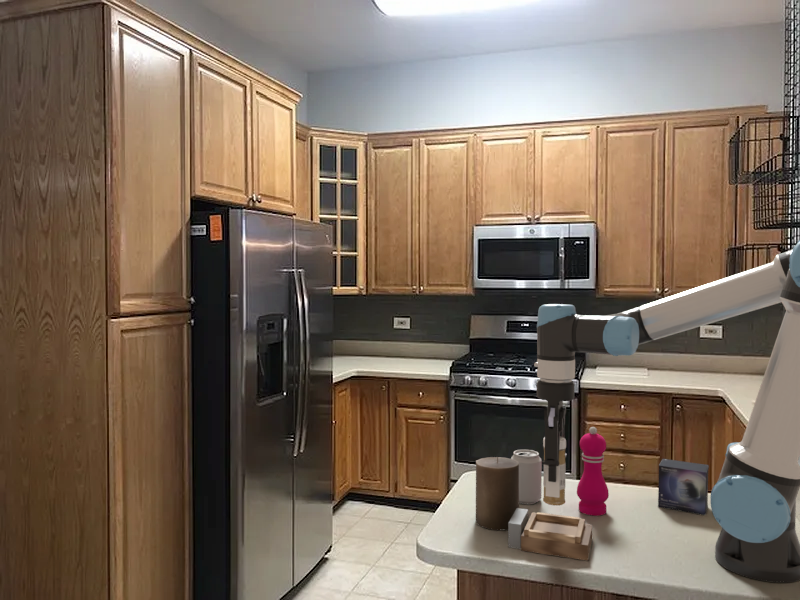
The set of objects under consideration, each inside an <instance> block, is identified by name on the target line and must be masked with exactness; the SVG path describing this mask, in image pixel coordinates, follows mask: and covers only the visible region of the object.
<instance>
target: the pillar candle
mask: <svg viewBox="0 0 800 600" xmlns="http://www.w3.org/2000/svg"><path fill="white" fill-rule="evenodd" d="M517 508H520V503H519V463H518V462H517V461H515V460H513V459H511V458H508V457H500V456H499V457H498V456H496V457H495V456H494V457H493V456H490V457H482V458H479V459H477V460H475V523H476V524H477V525H478V526H480V527H482V528H485V529H487V530H491V531H492V530H493V531H506V530H508V523H509V521H510V519H511V517H512V516H513V514H514V512H515V510H516V509H517Z"/></svg>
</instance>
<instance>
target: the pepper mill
mask: <svg viewBox="0 0 800 600" xmlns="http://www.w3.org/2000/svg"><path fill="white" fill-rule="evenodd" d="M579 448H580V450H581V451H582V453H581V460H582V461H583V473H582V475H581V478H580V480H579V481H578V484H577V487H576V495H577V497H578V498H579V502H578V512H580V513H582V514H584V515H587V516H592V517H593V516H595V517H596V516H597V517H599V516H603V515H605V514H606V513H607V504H606V501H607V500H608V498H609V495H610V494H609V488H608V484H607V483H606V480H605V478H604V476H603V472H602V469H603V468H602V465H603V462H604V461H605V459H604V458H605V454H604V452H605V451H606V449H607V442H606V439H605V438H604V437H603V436H602V435H601V434H599V433H598V429H597V428H596V427H595V426H591V427H589V433H588V432H587V433H585V434H584V435H583V436H581V438H580V440H579Z"/></svg>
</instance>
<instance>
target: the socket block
mask: <svg viewBox="0 0 800 600" xmlns="http://www.w3.org/2000/svg"><path fill="white" fill-rule="evenodd" d="M593 526H594V525H593V524H589V523H588V524H587V523H586V519H585V518H581V517H579V516H578V517H577V516H569V515H564V514H563V515H561V514H553V513H547V512H534V511H533V512H531V514H530V515H529V517H528V522H527V524H526V526H525V528H524V531H523V533H522V535H521V549H520V551H522V552H530V553H533V554H534V553H535V554H542V555H549V556H553V557H554V556H555V557H562V558H568V559H574V560H582V561H589V556H590V553H591V547H592V543H593Z"/></svg>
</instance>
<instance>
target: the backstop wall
mask: <svg viewBox="0 0 800 600" xmlns="http://www.w3.org/2000/svg"><path fill="white" fill-rule="evenodd" d="M528 520H529V509H527V508H520V507H519V508H517V509H516V510H515V512H514V514H513V516H512V517H511V519H510V521H509V523H508V532H507V533H508V537H507V538H508V539H507V540H508V541H507V544H508V548H513V549H519V550H521V535H522V533H523V531H524V528H525V526H526V524H527V522H528Z"/></svg>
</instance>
